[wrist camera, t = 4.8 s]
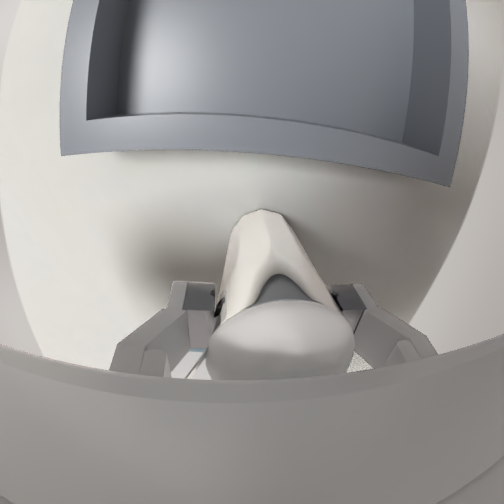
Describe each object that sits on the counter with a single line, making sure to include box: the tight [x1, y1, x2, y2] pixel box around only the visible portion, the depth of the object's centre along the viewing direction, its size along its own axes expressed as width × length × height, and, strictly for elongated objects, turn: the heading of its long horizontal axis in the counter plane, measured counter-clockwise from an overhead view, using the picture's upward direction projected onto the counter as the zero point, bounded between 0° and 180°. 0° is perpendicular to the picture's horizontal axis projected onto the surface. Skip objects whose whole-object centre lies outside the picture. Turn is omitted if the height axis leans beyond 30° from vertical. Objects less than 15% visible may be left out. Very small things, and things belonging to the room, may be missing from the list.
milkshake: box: [184, 209, 355, 380], centre depth 10 cm, size 4×5×10 cm
